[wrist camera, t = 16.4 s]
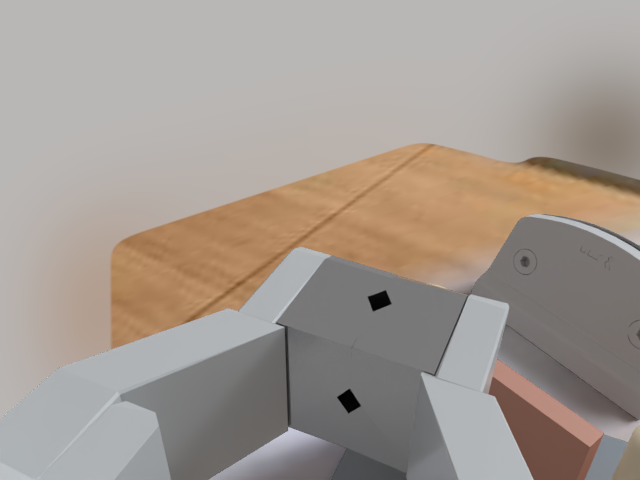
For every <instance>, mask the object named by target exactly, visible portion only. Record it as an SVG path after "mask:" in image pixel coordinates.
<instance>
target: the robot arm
mask: <svg viewBox="0 0 640 480" xmlns="http://www.w3.org/2000/svg"><path fill="white" fill-rule="evenodd" d="M508 312H509V305H508V303H504V302H500V301H496V300H492V299H488V298H484V297H480V296H476V295H472V294H471V295H467V294H463V293H460V292H456V291H452V290H449V289H445V288H441V287H438V286H434V285H430V284H427V283H423V282H419V281H416V280H412V279H408V278H405V277H401V276H398V275H395V274H392V273H389V272H385V271H382V270H379V269H376V268H372V267H369V266H366V265H362V264H359V263H356V262H352V261H349V260H346V259H342V258H339V257H336V256H330V255H328V254H324V253H321V252H317V251H314V250H310V249H307V248H304V247H298V248H295V249H293V250H292V251H291V252H290V253H289V254H288V255H287V256H286V257H285V259H284V260H283V261H282V262H281V263H280V264H279V265H278V266H277V268H276V269H275V270H274V271H273V272H272V273H271V274H270V276H269V277H268V278H267V279H266V280H265V281H264V282H263V283H262V285H261V286H260V287H259V288H258V289H257V290H256V291H255V293H254V294H253V295H252V296H251V297H250V298H249V299H248V300H247V302H246V303H245V304H244V305H243V306H242V307H241V308H240V309H239V311H235V310H232V309H229V308H228V309H226V310H223V311H220V312H217V313H214V314H211V315H208V316H206V317H203V318H200V319H197V320H194V321H191V322H188V323H186V324H183V325H180V326H177V327H174V328H171V329H168V330H166V331H163V332H160V333H157V334H154V335H151V336H149V337H146V338H143V339H140V340H137V341H134V342H131V343H129V344H126V345H123V346H120V347H117V348H114V349H111V350H109V351H106V352H103V353H100V354H97V355H94V356H91V357H89V358H86V359H83V360H80V361H77V362H75V363H71V364H69V365H66V366H63V367H60V368H58V369H57V370H55V371H54V372H53V373H52V374H51V375H50V376H49V377H48V378H46V379H45V380H44V381H43V382H42V383H41V384H40V385H39V386H37V387H36V388H35V389H34V390H33V391H32V392H31V393H30V394H28V395H27V396H26V397H25V398H24V399H23V400H22V401H20V402H19V403H18V404H17V405H16V406H15V407H14V408H13V409H11V410H10V411H9V412H8V413H7V414H6V415H5V416H4V417H2V418H1V419H0V480H208V479H210V478H211V477H213V476H215V475H216V474H218V473H219V472H221V471H223V470H224V469H226V468H228V467H229V466H231V465H233V464H234V463H236V462H237V461H239V460H241V459H242V458H244V457H246V456H247V455H249V454H251V453H252V452H254V451H255V450H257V449H259V448H260V447H262V446H264V445H265V444H267V443H268V442H270V441H272V440H273V439H275V438H277V437H278V436H280V435H282V434H283V433H285V432H286V431H288V427H290V428H293V429H296V430H299V431H301V432H304V433H307V434H310V435H312V436H315V437H318V438H321V439H323V440H326V441H329V442H332V443H335V444H337V445H340V446H343V447H346V448H348V449H350V450H353V451H355V452H357V453H360V454H362V455H365V456H367V457H369V458H372V459H374V460H376V461H379V462H381V463H383V464H386V465H388V466H390V467H393V468H395V469H398V470H400V471H402V472H405V473H407V475H406V478H407V480H533V477H532V475H531V473H530V471H529V469H528V467H527V464H526V462H525V460H524V458H523V456H522V454H521V451H520V449H519V447H518V445H517V443H516V441H515V439H514V436H513V434H512V432H511V430H510V428H509V426H508V423H507V421H506V419H505V417H504V415H503V413H502V411H501V408H500V406H499V404H498V402H497V400H496V398H495V397H494V396H492V395H489V394H488V393H489V389H490V385H491V381H492V377H493V373H494V369H495V365H496V361H497V357H498V353H499V349H500V345H501V341H502V337H503V333H504V329H505V325H506V321H507V317H508Z"/></svg>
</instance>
